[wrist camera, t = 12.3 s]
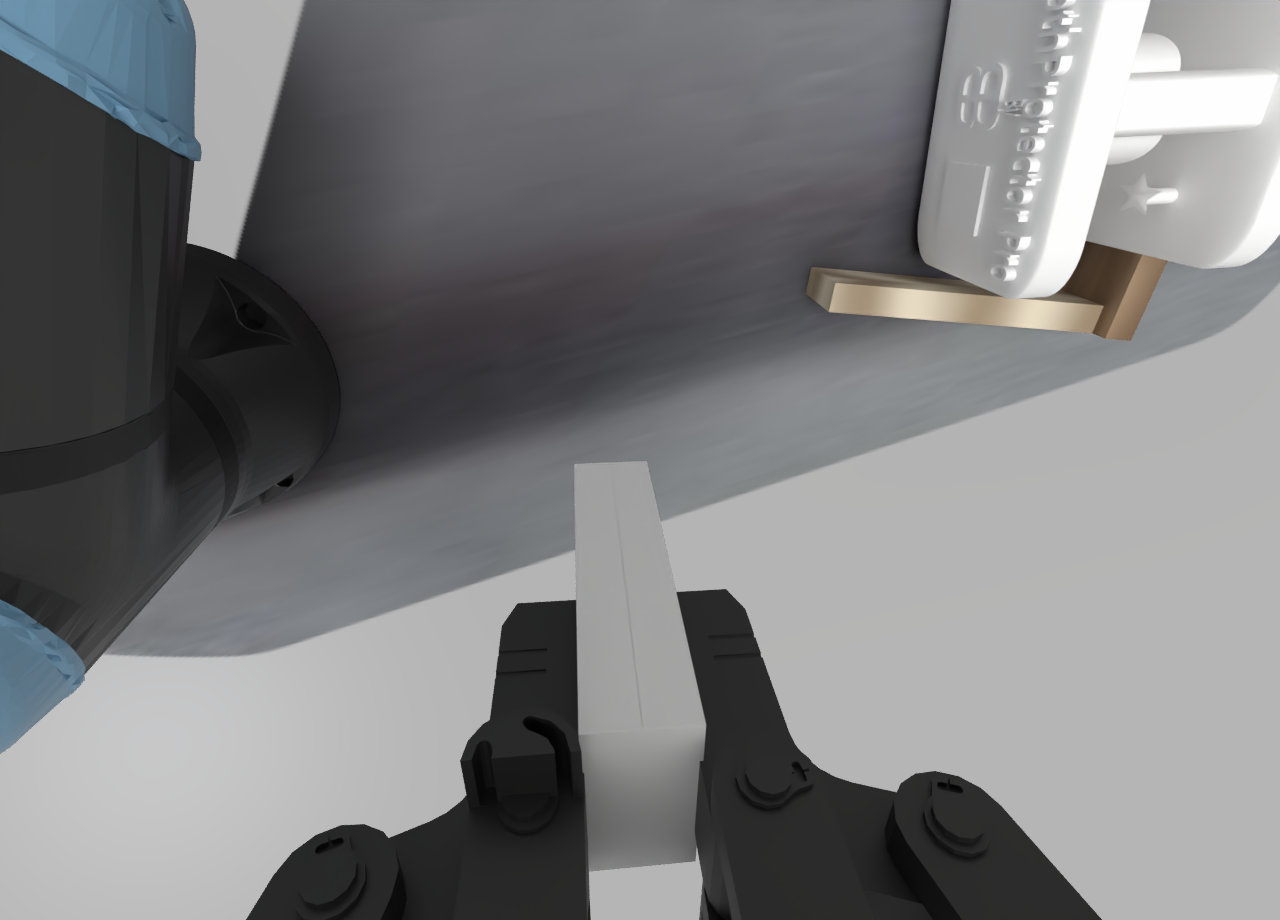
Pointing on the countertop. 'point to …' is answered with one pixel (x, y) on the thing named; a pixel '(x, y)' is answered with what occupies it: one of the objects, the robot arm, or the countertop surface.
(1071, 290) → the wooden tray
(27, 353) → the robot arm
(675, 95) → the countertop surface
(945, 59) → the cable organizer
